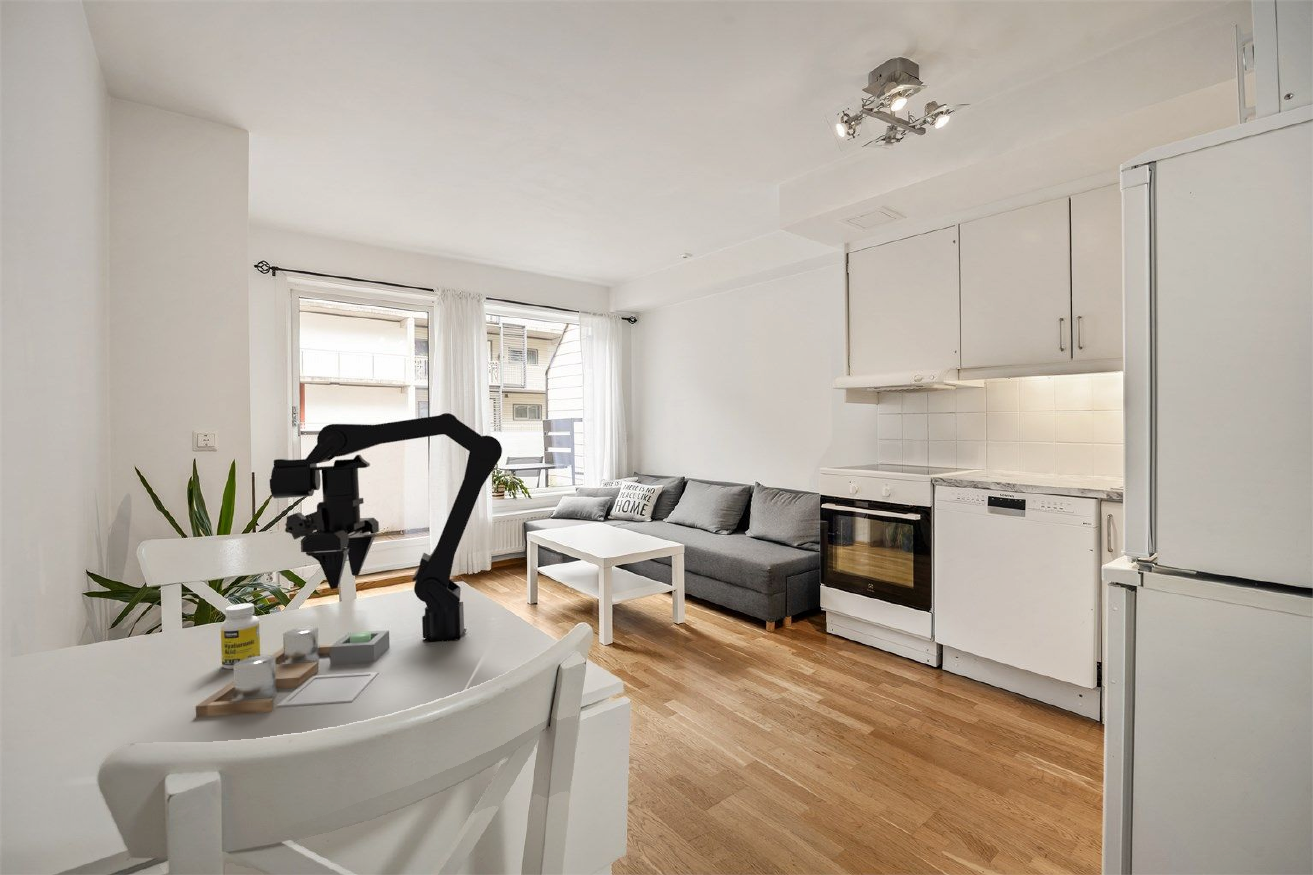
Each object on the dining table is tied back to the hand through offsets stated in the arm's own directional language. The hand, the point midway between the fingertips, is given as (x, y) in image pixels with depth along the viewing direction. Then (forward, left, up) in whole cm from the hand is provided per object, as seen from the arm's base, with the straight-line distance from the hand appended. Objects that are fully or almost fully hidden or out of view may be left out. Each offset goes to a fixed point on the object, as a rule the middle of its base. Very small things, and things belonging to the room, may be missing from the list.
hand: (345, 581), depth 106 cm
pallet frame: (+5, +14, -12) cm, 19 cm away
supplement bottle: (+16, +4, -13) cm, 21 cm away
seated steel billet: (+4, +20, -12) cm, 24 cm away
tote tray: (-5, +18, -12) cm, 22 cm away
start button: (-4, +5, -11) cm, 13 cm away
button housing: (-4, +5, -12) cm, 14 cm away
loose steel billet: (+4, +7, -12) cm, 15 cm away
